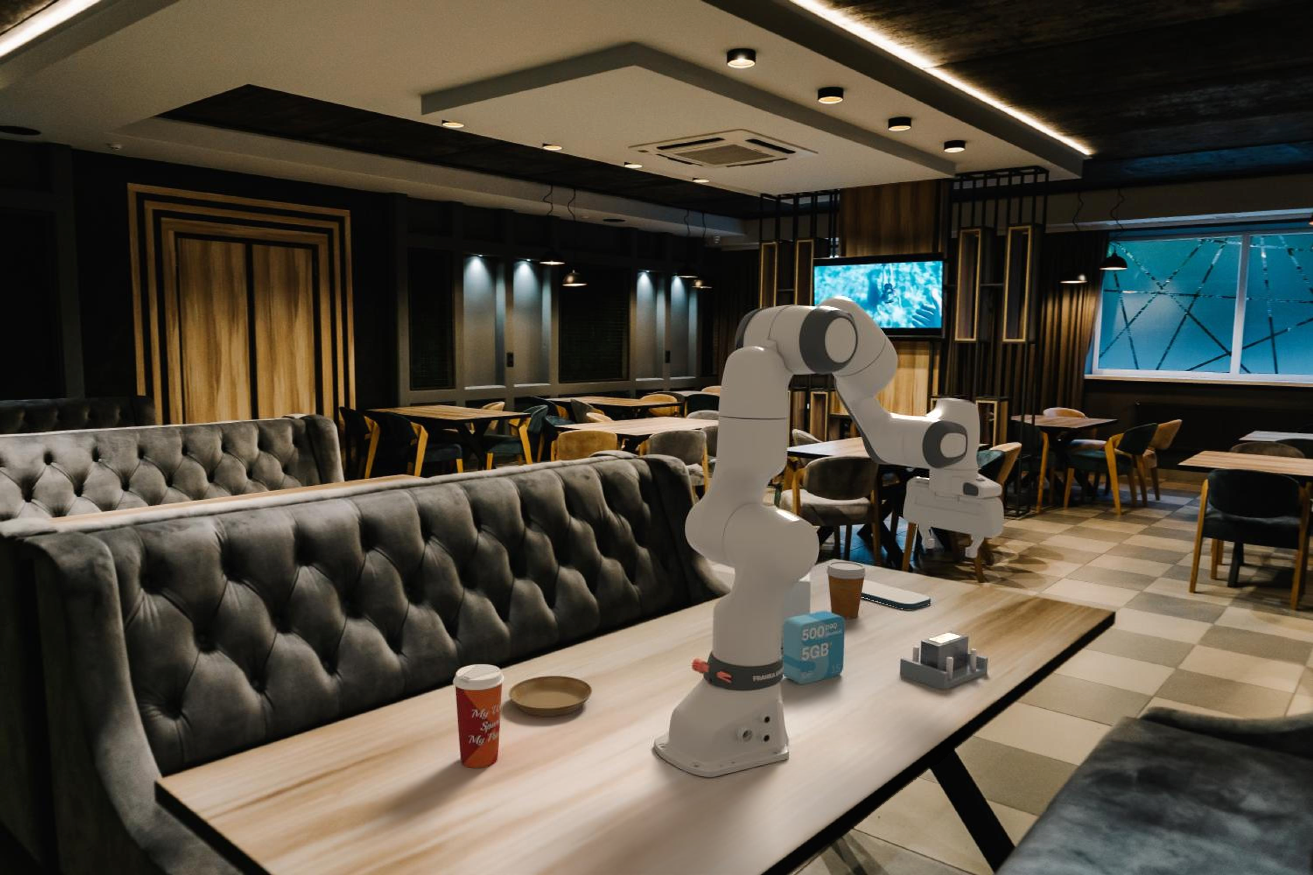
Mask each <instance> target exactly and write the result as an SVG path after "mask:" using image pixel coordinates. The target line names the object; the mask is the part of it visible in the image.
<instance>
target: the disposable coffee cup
mask: <svg viewBox="0 0 1313 875" xmlns="http://www.w3.org/2000/svg"><path fill="white" fill-rule="evenodd" d="M825 571H826V573H827V579H828V589H829V600H830V612H831V613H833V614H836V615H839V616H841V617H850V618H849V619H852V618H851V617H853V618H856V616H857V615H858V616H859V611H860V607H861V606H860V605H861V599H862V598H861V594H862V588H863V582H864V580H865V577H866V575H867V570H866V566H865V565H863V564H862V563H858V562H854V561H846V560H844V561H843V560H841V561H840V560H839V561H838V560H837V561H831V562H828V565H827V568H825ZM858 616H857V617H858Z"/></svg>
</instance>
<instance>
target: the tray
mask: <svg viewBox="0 0 1313 875" xmlns="http://www.w3.org/2000/svg"><path fill="white" fill-rule="evenodd" d="M969 650H970V651H968V658H967V666H965V667H962V668H960V669H957V670H954V671H953V658H952V657H947V661H946V672H945V671H942V670H939V669H936V668H933V667H930V666H927V665H924V664H921V663H920V647H919V646H917V645H913V646H912V659H909V658H906V657H901V658H900V661H899V663H900V664H899V665H900V666H899V675H901V676H904V677H906V678H908V679H911V680H914V681H917V682H920V683H923V684H926V685H928V686H931V687H934V688H937V689H939V690H943V691H945V690H948V689H949V690H950V689H951V688H953V687H956V686H958V685H961V684H963V683H966V682H969V681H971V680H974V679H976V678H980V677H982V676H984V675H986V674H988V667H989V666H988V664H989V662H988V661H989V657H986V656H983V655H981V654H977V653H978V649H976V648H970V649H969Z"/></svg>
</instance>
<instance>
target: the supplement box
mask: <svg viewBox="0 0 1313 875" xmlns="http://www.w3.org/2000/svg"><path fill="white" fill-rule="evenodd" d="M811 587H812V586H811V571H810V572H809V573H808V574H807V575H806V576H805V577H803V578H802V579H800V580H799V581H798V582H797V583H796V584H795V585H794V586H793V588H792V589H791V591H790V593H789V595H788V598H787V600H786V603H785V607H784V611H783V618H782V633H781V648H782V649H783V640H784V624H785V622H786V620H787V619H788V618H791V617H796V616H801V615H806V614H811V597H812V596H811V594H812V593H811V589H812V588H811Z"/></svg>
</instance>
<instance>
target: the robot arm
mask: <svg viewBox="0 0 1313 875" xmlns="http://www.w3.org/2000/svg"><path fill="white" fill-rule="evenodd" d="M733 349H734V351H733V352H732V353H731V354H730V355H728V357H727V360H726V363H725V367H724V370H723V374H722V379H721V384H720V385H721V386H720V393H719V402H718V417H717V438H716V439H717V440H716V442H717V443H716V457H715V463H714V469H713V472H712V476H711V479H710V481H709V482H710V483H709V484H708V487H707V489H706V491H705V493H704V495H703V496H702V498H701V499H700V500H699V501H697V502H696V503H695V504H694V505H693V506H692V507H691V509H690V510H689V512H688V515H687V517H686V519H685V524H684V527H685V528H684V532H685V538H686V540H687V543H688V545H690V547H691V548H692V549H693V550H694V551H696V552H697V553H698V554H700V555H701V556H703V558H705V559H708V560H709V561H711V562H714V563H716V564H720V565H723V566H726V567H728V568H733V570H734V581H733V585H732V587H731V590H730V593H727V594H726V595H723V596H722V597H721V598H719V600H717V602H716V603H715V605H714V608H713V611H712V649H711V651H710V652H709V655H708V658H707V661H704V660H702V659H701V658H695V659H693V660H692V662H691V665H690V666H691V669H692V671H694V672H698V673H699V674H700V675H701V674H702V676H703V678H701V680H700V681H699V682H698V683H697V684H696V685H695V686H694V687H693V688H692V690H690V692H689V693H688V694H687V695H686V696H685V697H684V698H683V699H682V700H681V701H680V702H679V703H678V704H677V705H676V706H675V707H674V708H673V710H672V713H671V716H670V721H669V727H668V728H669V729H668V732H667V733H664V734H663V735H660V736H659V737H657V738H655V739H654V742H653V747H654V750H655V752H656V753H657V754H658V755H659V757H661V758H662V759H663V760H664V761H666V762H668V763H669V764H671V765H673V766H674V767H676V768H679V769H680V770H682V771H685V772H686V773H687V772H688V773H689V774H693V775H696V776H701V777H705V778H713V777H718V776H722V775H725V774H730V773H735V772H739V771H743V770H747V769H752V768H756V767H759V766H763V765H767V764H773V763H775V762H781V761H785V760H787V759H789V758H790V752H789V747H788V744H789V741H790V740H789V737H788V733H787V728H786V723H785V712H784V703H783V695H782V687H781V681H782V680H783V679H784V674H783V670H784V666H783V653H781V652H782V650H781V633H782V618H783V611H784V607H785V603H786V600H787V598H788V595H789V593H790V591H791V589H792V588H793V586H794V585H795V584H796V583H797V582H798V581H799V580H800V579H802V578H803V577H805V576H806V575H807V574H808V573H809V572H810V573H811V571H812V570H813V568H814V567H815V565H816V563H817V561H818V557H819V552H820V542H819V541H820V540H819V536H818V533H817V531H816V529H815V527H814V526H813V525H812V523H811V522H809V521H807V520H805V519H804V518H802V517H800V516H799V515H797V514H795V513H792V512H790V511H788V510H786V509H781V508H779V507H778V508H777V507H772V506H769V505H764V497H765V496H764V495H765V493H766V490H767V487H768V485H769V483H770V481H771V480H772V479H773V478H775V477H777V476H778V475H779V474H781V473H782V472H783V470H784V469H785V467H786V466H787V461H788V444H789V442H788V441H789V438H788V437H789V413H790V412H789V410H790V407H789V406H790V405H789V402H790V401H789V384H790V382H791V380H792V378H793V376H794V375H812V374H817V375H829V374H832V376H833V386H834V390H835V392H836V395H837V397H838V398H839V400H840V402H841V404H842V406H843V407H844V409H845V410H846V412H847V414H848V416H849V417H850V419H851V420H852V422H853V424H854V426H855V428H857V430H858V432H859V435H860V437H861V440H862V444H863V446H864V448H865V449H864V450H865V452H866V453H867V455H868V457H869V458H870V459H871V460H872V461H873V462H874V463H876V464H879V465H893V466H894V465H898V466H904V467H905V466H906V467H912V468H921V469H927V470H929V478H927V477H920V476H913V478H910V479H909V480H908V481H907V482H906V494H905V499H904V504H903V512H902V513H903V514H902V517H903V519H904V521H905V522H907V523H911V524H915V525H916V524H917V525H918V531H919V533H920V536H921V538H922V539H923V540H922V547H923V548H924V549H934V548H935V541H936V540H935V538H932V536H931V534H930V531H929V530H931V529H932V528H937V529H941V530H946V531H953V532H958V533H962V534H969V535H970V539H971V541H973V542H972V543H971V545H970V546H968V547H965V554H964V556H965V557H966V558H971V559H975V558H977V557H978V550H979V548H980V546H981V545H982V543H983V542H984V539H985V538H987V539H991V538H997V537H1000V535H1001V534H1002V533H1003V531H1004V524H1005V523H1004V522H1005V520H1004V519H1005V518H1004V516H1005V515H1004V505H1003V502H1002V500H1001V499H1000V497H998V496H1001V495H1002V493H1003V487H1002V485H1001V484H1000V483H998V482H997V481H996V482H995V481H993V479H992V480H991V479H990V478H987V477H986V476H984V475H982V474H980V473H979V465H978V460H977V454H978V451H979V448H980V439H981V438H980V436H981V429H980V428H981V427H980V426H981V425H980V415H979V409H978V405H976V404H975V403H973V402H972V401H970V400H966V399H961V398H960V399H958V398H956V397H954V398H953V397H942V398H938V399H937V401H936V403H935V407H934V408H933V410H931V411H930V412H928V413H926V414H924V415H923V416H917V415H916V416H915V415H908V414H907V415H906V414H905V415H904V414H899V413H894V412H891V411H887V410H886V409H884V408H883V406H882V404H881V403H880V401H879V400H878V398H877V395H878V394H880V393H881V392H883V391H884V390H885V389H886V388H887V387H888V386H889V385H890V384H891V382H892V381H893V379H894V378H895V375H896V374H897V369H898V364H899V358H898V354H897V352H896V349H895V347H894V345H893V343H892V342H891V340H890V339H889V338H888V336H887V335H886V334H885V333H884V330H882V328H881V327H880V325H878V323H877V322H876V320H874V319H873V318H872V316H870V314H869V313H867V312H866V310H865V309H864V308H862V307H861V306H860V305H859V304H858V303H856V301H854V300H852V298H849V297H847V296H842V295H841V296H840V295H837V296H832V297H828V298H826V299H825V300H823V301H820V302H819V303H818V304H817V305H816V306H811V305H798V304H789V305H788V304H786V305H779V306H778V305H777V306H773V307H772V306H771V307H769V306H764V307H761V308H757V309H754V310H752V311H750V312H748V313H747V314H745V315H744V316H743V318H742V319H741V321H740V322H739V324H738V326H737V329H736V332H735V337H734V348H733ZM931 527H932V528H931Z"/></svg>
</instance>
